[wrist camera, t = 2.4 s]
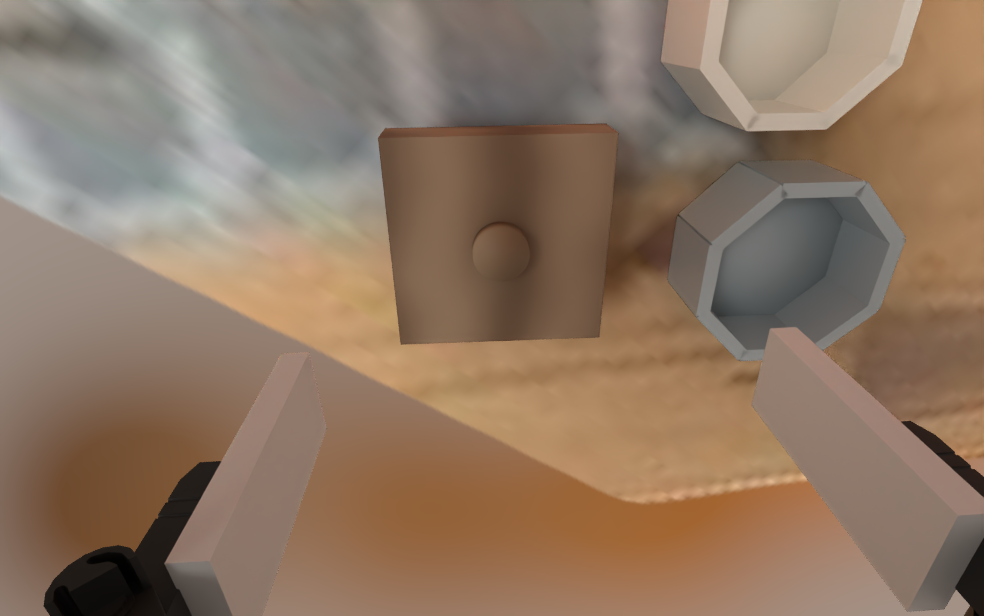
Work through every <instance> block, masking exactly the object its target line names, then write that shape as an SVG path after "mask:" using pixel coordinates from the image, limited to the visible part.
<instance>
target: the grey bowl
mask: <svg viewBox="0 0 984 616" xmlns="http://www.w3.org/2000/svg"><path fill="white" fill-rule="evenodd" d="M679 215H680V216H677V220H676V226H675V233H674V239H673V246H672V252H671V259H670V265H669V271H668V278H667V280H668V282H669V284H670V285H671V286H672V287H673V289H674V290H675V291H676V292H677V294H678V295H679V296H680V298H681V299H682V300H683V301H684V303H685V304H686V305H687V306H688V308H689V309H690V310H691V311H692V313H693V314H694V315H695V317H696V318H697V319H698V320H699V321H700V322H701V323H702V324H703V325H704V326H705V327H706V328H707V329H708V330H709V331H710V332H711V333H712V334H713V335H714V336H715V337H716V338H717V339H718V340H719V341H720V342H721V343H722V344H723V346H724V347H725V348H726V349H727V350H728V351H729V352H730V353H731V354H732V355H733V356H734V357H735V358H736V359H737V360H740V361H756V360H762V359H763V355H764V351H765V347H766V343H767V339H768V335H769V330H770V328H787V327H797V328H798V329H799V330H800V331H801V332H802V333H803V334H805V335H806V336H807V337H808V338H809V339H810V340H811V341H812V342H813V343H814V344H816V345H817V346H818V347H819V348H820V349H821V350H822V351H823V350H824V349H825V348H827V347H828V346H830V345H831V344H833V343H834V342H835V341H837V340H838V339H840V338H841V337H842V336H844V335H845V334H847V333H848V332H850V331H851V330H852V329H854V328H855V327H857V326H858V325H860V324H861V323H862V322H864V321H865V320H867V319H868V318H870V317H871V316H872V315H874V314H875V313H877V312H878V311H877V310H880V307H881V305H882V302H883V299H884V296H885V294H886V291H887V288H888V286H889V283H890V280H891V278H892V275H893V272H894V270H895V267H896V264H897V262H898V259H899V256H900V253H901V251H902V248H903V245H904V243H905V240H906V239H904V238H905V235H904V234H903V232H902V231H901V229H900V228H899V227H898V225H897V224H896V222H895V221H894V219H893V218H892V216H891V215H890V213H889V212H888V210H887V209H886V207H885V206H884V204H883V203H882V201H881V200H880V198H879V197H878V196H877V194H876V193H875V191H874V190H873V188H872V187H871V185H870V184H869V182H866V181H864V180H862V179H859V178H857V177H854V176H852V175H849V174H846V173H844V172H841V171H839V170H836V169H834V168H831V167H829V166H826V165H824V164H821V163H819V162H816V161H814V160H776V161H740V162H739V163H738V162H737V163H736V164H735V165H734V166H733V167H731V168H730V169H729V170H728V171H727V172H726V173H725V174H723V175H722V176H721V177H720V178H719V179H718V180H717V181H715V182H714V183H713V184H712V185H711V186H710V187H709V188H707V189H706V190H705V191H704V192H703V193H702V194H700V195H699V196H698V197H697V198H696V199H695V200H694V201H692V202H691V203H690V204H689V205H688V206H687V207H686V208H684V209H683V210H682V211H681V212H680V213H679Z"/></svg>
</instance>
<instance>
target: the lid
mask: <svg viewBox="0 0 984 616" xmlns="http://www.w3.org/2000/svg"><path fill="white" fill-rule="evenodd" d="M618 135H619V133H618V132H617V131H616V130H614V129H613V128H611V127H610V126H609V125H607V124H566V125H520V126H473V127H427V128H385V129H384V131H383V132H382V133H381V135H380V136H379V138H378V141H379V151H380V160H381V169H382V178H383V187H384V196H385V205H386V214H387V224H388V233H389V242H390V251H391V260H392V269H393V278H394V287H395V297H396V306H397V315H398V324H399V333H400V342H401V344H429V343H456V342H484V341H512V340H540V339H567V338H595V337H599V335H600V324H601V314H602V303H603V293H604V282H605V272H606V261H607V251H608V240H609V230H610V219H611V208H612V198H613V187H614V177H615V166H616V156H617V145H618Z"/></svg>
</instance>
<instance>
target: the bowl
mask: <svg viewBox="0 0 984 616" xmlns="http://www.w3.org/2000/svg"><path fill="white" fill-rule="evenodd" d="M922 1H923V0H668V7H667V15H666V23H665V31H664V39H663V47H662V56H661V63H662V64H663V65H664V66H665V68H666V69H667V70H668V71H669V73H670V74H671V75H672V77H673V78H674V79H675V80H676V82H677V83H678V84H679V85H680V87H681V88H682V89H683V90H684V92H685V93H686V94H687V96H688V97H689V98H690V99H691V101H692V102H693V103H694V104H695V106H696V107H697V108H698V110H699V111H700V112H701V113H702V114H704V115H706V116H709V117H711V118H714V119H716V120H719V121H722V122H724V123H727V124H729V125H732V126H735V127H737V128H740V129H742V130H745V131H783V130H826V129H828V128H829V127H830V126H831V125H832V124H834V123H835V122H836V121H837V120H838V119H839V118H841V117H842V116H843V115H844V114H845V113H847V112H848V111H849V110H850V109H851V108H852V107H854V106H855V105H856V104H857V103H858V102H860V101H861V100H862V99H863V98H864V97H866V96H867V95H868V94H869V93H870V92H871V91H873V90H874V89H875V88H876V87H877V86H879V85H880V84H881V83H882V82H883V81H884V80H886V79H887V78H888V77H889V76H890V75H892V74H893V73H894V72H895V71H896V70H898V69H899V68H900V67H901V65H902V64H903V61H904V58H905V54H906V51H907V48H908V45H909V42H910V39H911V36H912V32H913V29H914V26H915V23H916V20H917V17H918V13H919V10H920V7H921V4H922Z"/></svg>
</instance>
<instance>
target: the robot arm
mask: <svg viewBox="0 0 984 616" xmlns="http://www.w3.org/2000/svg"><path fill="white" fill-rule="evenodd" d="M752 407H753V408H754V409H755V411H756V412H757V413H758V415H759V416H760V417H761V419H762V420H763V421H764V422H765V424H766V425H767V426H768V428H769V429H770V430H771V432H772V433H773V434H774V436H775V437H776V438H777V440H778V441H779V442H780V444H781V445H782V446H783V448H784V449H785V450H786V452H787V453H788V454H789V456H790V457H791V458H792V460H793V461H794V462H795V464H796V465H797V466H798V468H799V469H800V470H801V472H802V473H803V474H804V476H805V477H806V478H807V480H808V481H809V482H810V484H811V485H812V486H813V487H814V489H815V490H816V491H817V493H818V494H819V495H820V497H821V498H822V499H823V501H824V502H825V503H826V505H827V506H828V507H829V509H830V510H831V511H832V513H833V514H834V515H835V517H836V518H837V519H838V521H839V522H840V523H841V525H842V526H843V527H844V529H845V530H846V531H847V533H848V534H849V535H850V536H851V538H852V539H853V541H854V542H855V543H856V544H857V546H858V547H859V548H860V550H861V551H862V552H863V554H864V555H865V556H866V558H867V559H868V560H869V562H870V563H871V564H872V566H873V567H874V568H875V570H876V571H877V572H878V574H879V575H880V576H881V578H882V579H883V580H884V582H885V583H886V584H887V586H888V587H889V588H890V590H891V591H892V592H893V594H894V595H895V596H896V598H897V599H898V600H899V602H900V603H901V604H902V606H903V607H904V608H905V610H906V611H907V612H910V611H925V610H941V609H945V607H946V606H947V604H948V602H949V600H950V599H951V597H952V595H953V593H954V592H955V590H957V591H958V592H959V593H960V594H961V595H962V597H963V598H964V599H965V600H966V601H967V602H968V603H969V605H970V607H969V608H968V610H967V612H966V613H965V615H964V616H984V477H983V476H982V475H981V474H980V473H978V472H977V471H976V470H975V469H971V466H970V465H969V464H968V463H967V462H966V461H965V460H964V459H962V458H961V457H960V456H959V455H955V452H954V451H953V450H952V449H951V448H950V447H949V446H948V445H946V444H945V443H944V442H943V441H942V440H941V439H939V438H938V437H937V436H936V435H934V434H933V433H931V432H929V431H927V430H926V429H924V428H922V427H920V426H918V425H917V424H915V423H913V422H911V421H902V422H900V421H899V420H898V419H897V418H896V417H895V416H893V415H892V414H891V413H890V412H889V411H888V410H887V409H886V408H885V407H884V406H883V405H881V404H880V403H879V402H878V401H877V400H876V399H875V398H874V397H873V396H872V395H870V394H869V393H868V392H867V391H866V390H865V389H864V388H863V387H862V386H861V385H859V384H858V383H857V382H856V381H855V380H854V379H853V378H852V377H851V376H850V375H848V374H847V373H846V372H845V371H844V370H843V369H842V368H841V367H840V366H839V365H837V364H836V363H835V362H834V361H833V360H832V359H831V358H830V357H829V356H828V355H827V354H825V353H824V352H823V351H822V350H821V349H820V348H819V347H818V346H817V345H816V344H814V343H813V342H812V341H811V340H810V339H809V338H808V337H807V336H806V335H805V334H803V333H802V332H801V331H800V330H799V329H798V328H797V327H787V328H770V330H769V335H768V339H767V343H766V347H765V351H764V355H763V359H762V364H761V368H760V372H759V376H758V380H757V384H756V389H755V393H754V397H753V401H752ZM325 432H326V424H325V420H324V415H323V411H322V406H321V402H320V398H319V394H318V389H317V384H316V380H315V376H314V371H313V367H312V363H311V358H310V354H309V352H305V353H286V354H281V356H280V358H279V360H278V361H277V363H276V365H275V367H274V368H273V370H272V372H271V374H270V376H269V377H268V379H267V381H266V383H265V385H264V386H263V388H262V390H261V392H260V393H259V395H258V397H257V399H256V401H255V402H254V404H253V406H252V408H251V409H250V412H249V413H248V415H247V417H246V419H245V420H244V422H243V424H242V426H241V427H240V429H239V431H238V433H237V435H236V436H235V438H234V440H233V442H232V444H231V446H230V447H229V449H228V451H227V452H226V454H225V456H224V458H223V460H222V461H216V462H200V463H199V464H197V465H196V466H195V467H194V468H193V469H192V470H191V471H189V472H188V473H187V474H186V475H185V476H184V477H183V478H182V479H180V481H179V482H178V484H177V486H176V487H175V489H174V490H173V492H172V494H171V495H170V497H169V499H168V503H165V505H164V506H163V508H162V510H161V511H160V513H159V514H158V516H159V517H158V519H155V521H154V522H153V524H152V526H151V527H150V529H149V530H148V532H147V534H146V535H145V537H144V538H143V540H142V541H141V543H140V545H139V546H138V548H137V549H136V551H135V553H134V552H133V550H132V549H131V548H128V547H124V546H119V545H117V546H111V547H104V548H101V549H98V550H95V551H93V552H91V553H88V554H85V555H84V556H82V557H81V558H79V559H78V560H76V561H75V562H73V563H71V564H70V565H68V566H67V567H66V568H65V569H64V570H63V571H62V572H61V573H60V574H59V575H58V576H57V577H56V578H55V579H54V580H53V582H52V584H51V585H50V587H49V588H48V590H47V591H46V593H45V600H44V607H45V609H46V610H47V612H48V613H49V615H50V616H262V615H263V612H264V609H265V606H266V603H267V601H268V597H269V595H270V592H271V589H272V586H273V583H274V580H275V577H276V574H277V571H278V569H279V565H280V563H281V560H282V557H283V554H284V551H285V548H286V545H287V542H288V540H289V537H290V534H291V530H292V528H293V525H294V522H295V519H296V516H297V513H298V510H299V508H300V505H301V502H302V499H303V496H304V493H305V490H306V487H307V484H308V481H309V478H310V475H311V473H312V470H313V467H314V464H315V461H316V458H317V455H318V452H319V449H320V446H321V443H322V441H323V438H324V435H325Z"/></svg>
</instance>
